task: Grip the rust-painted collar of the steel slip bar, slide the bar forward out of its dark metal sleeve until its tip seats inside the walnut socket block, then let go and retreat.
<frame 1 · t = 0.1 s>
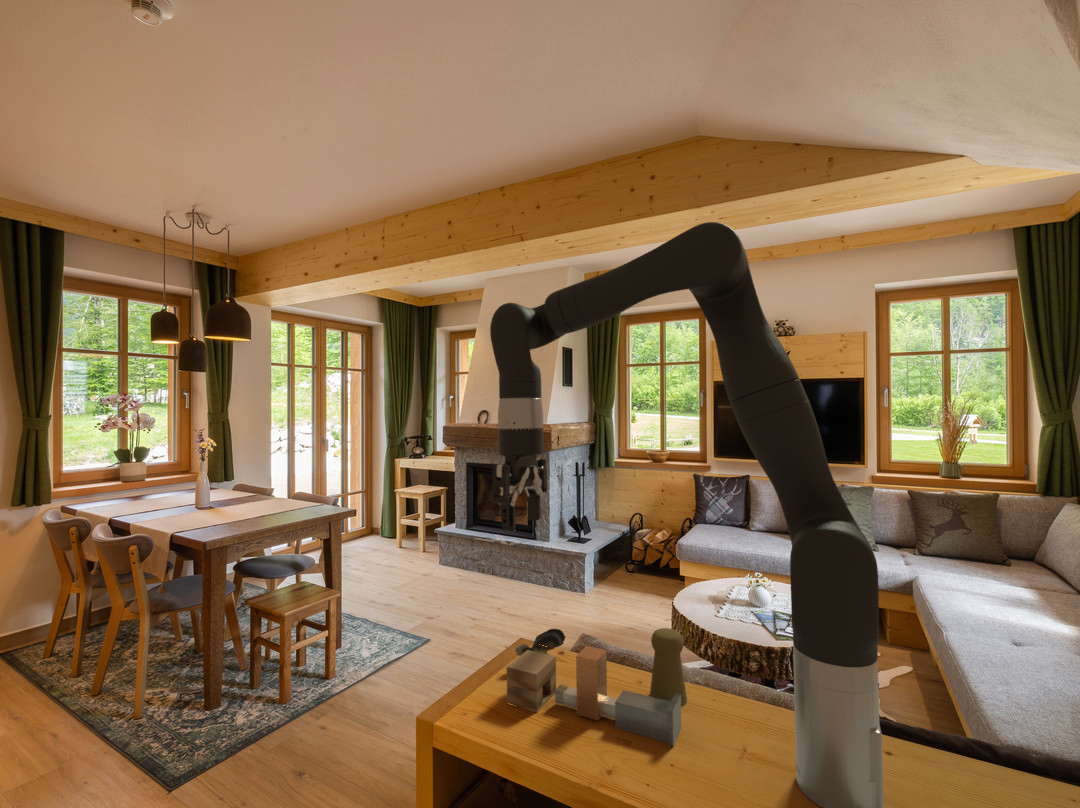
hand: (521, 524, 86), 29 cm above the table, tool pointing down, fingers open, 8 cm apart
socket block: (532, 697, 87), on the table
olive green pawn: (668, 699, 87), on the table
slip bar: (609, 686, 81), point 5 cm above the table, slide at 0.0 cm
sleeve: (645, 728, 79), on the table
eagle figurine: (541, 667, 99), on the table
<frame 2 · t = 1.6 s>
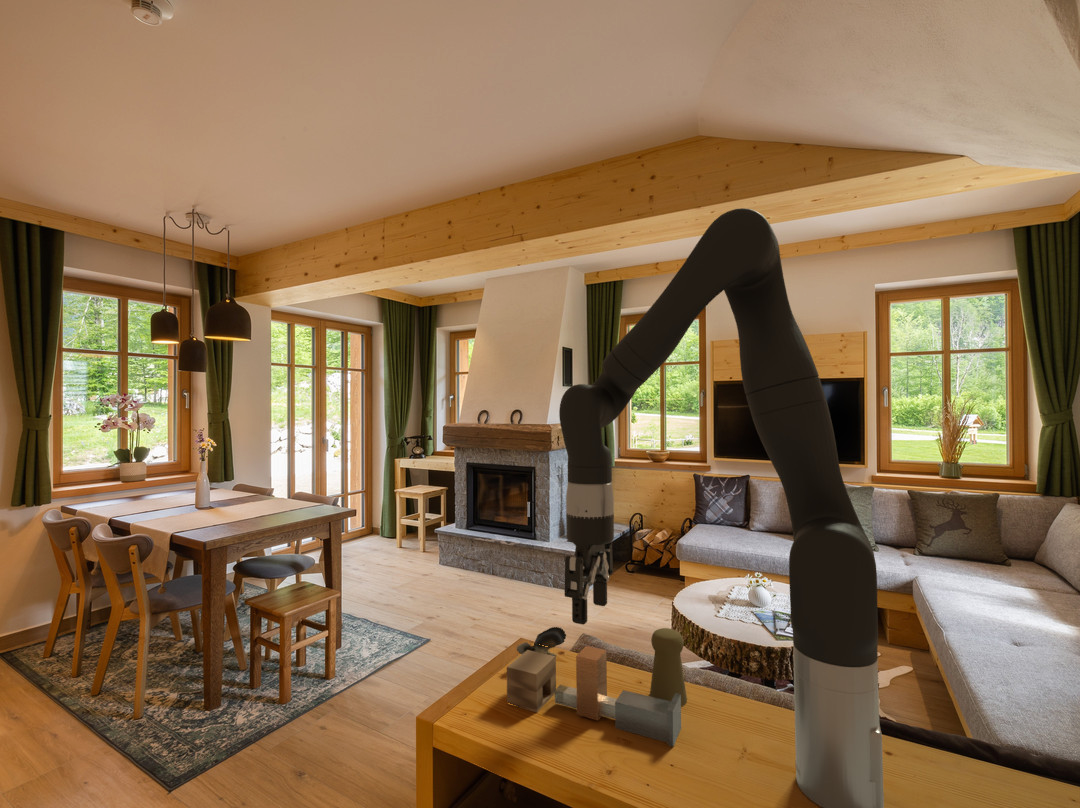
hand: (590, 613, 83), 16 cm above the table, tool pointing down, fingers open, 8 cm apart
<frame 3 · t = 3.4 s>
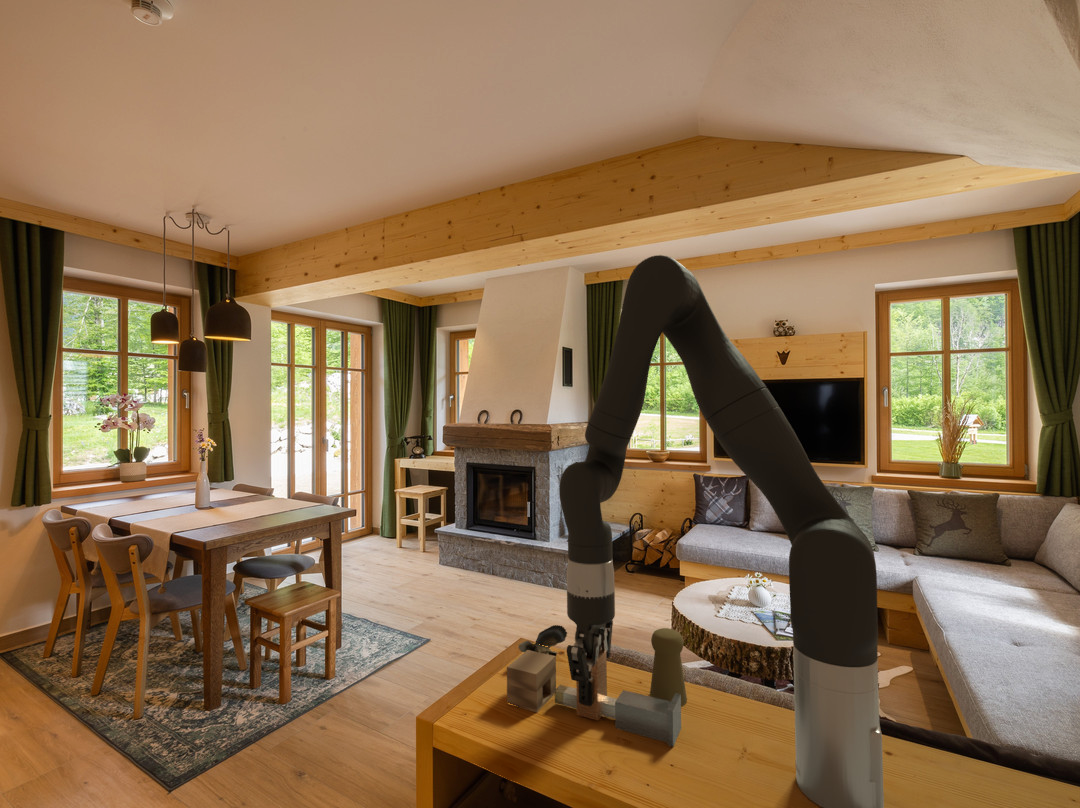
hand: (592, 696, 83), 3 cm above the table, tool pointing down, fingers closed on slip bar, 4 cm apart
slip bar: (609, 686, 81), point 5 cm above the table, slide at 0.0 cm, touching gripper
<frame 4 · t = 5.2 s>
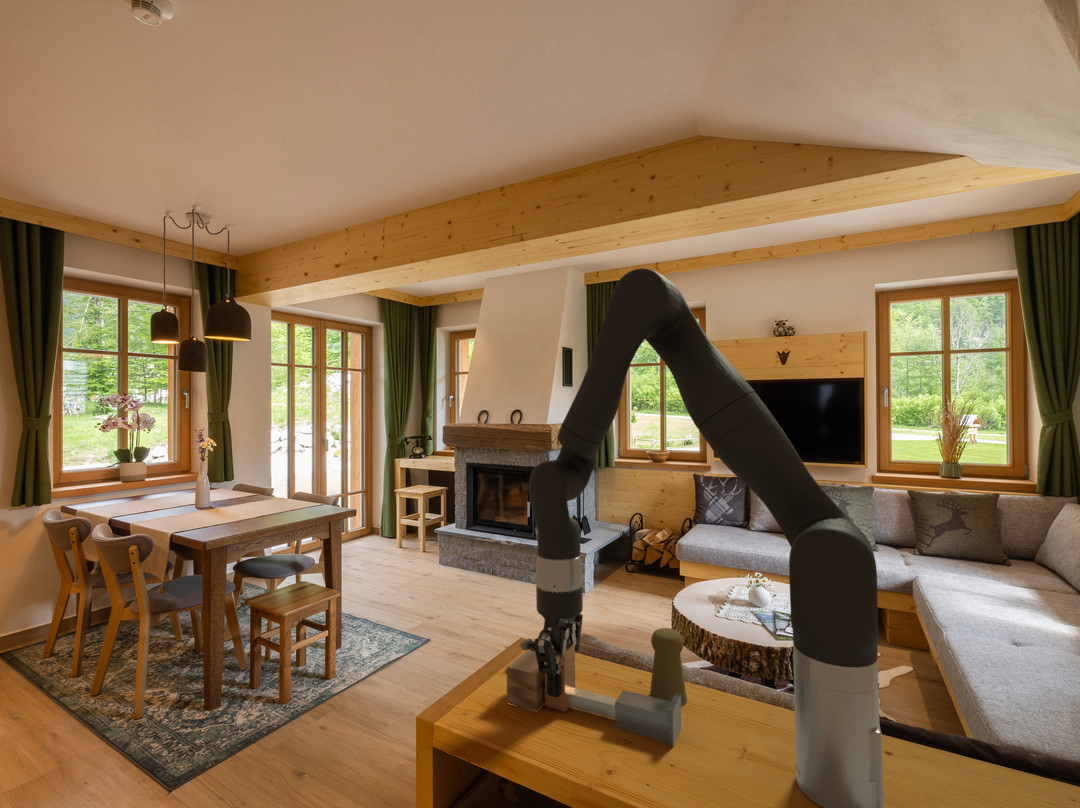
hand: (560, 688, 85), 3 cm above the table, tool pointing down, fingers closed on slip bar, 4 cm apart
slip bar: (577, 678, 84), point 5 cm above the table, slide at 5.5 cm, touching gripper
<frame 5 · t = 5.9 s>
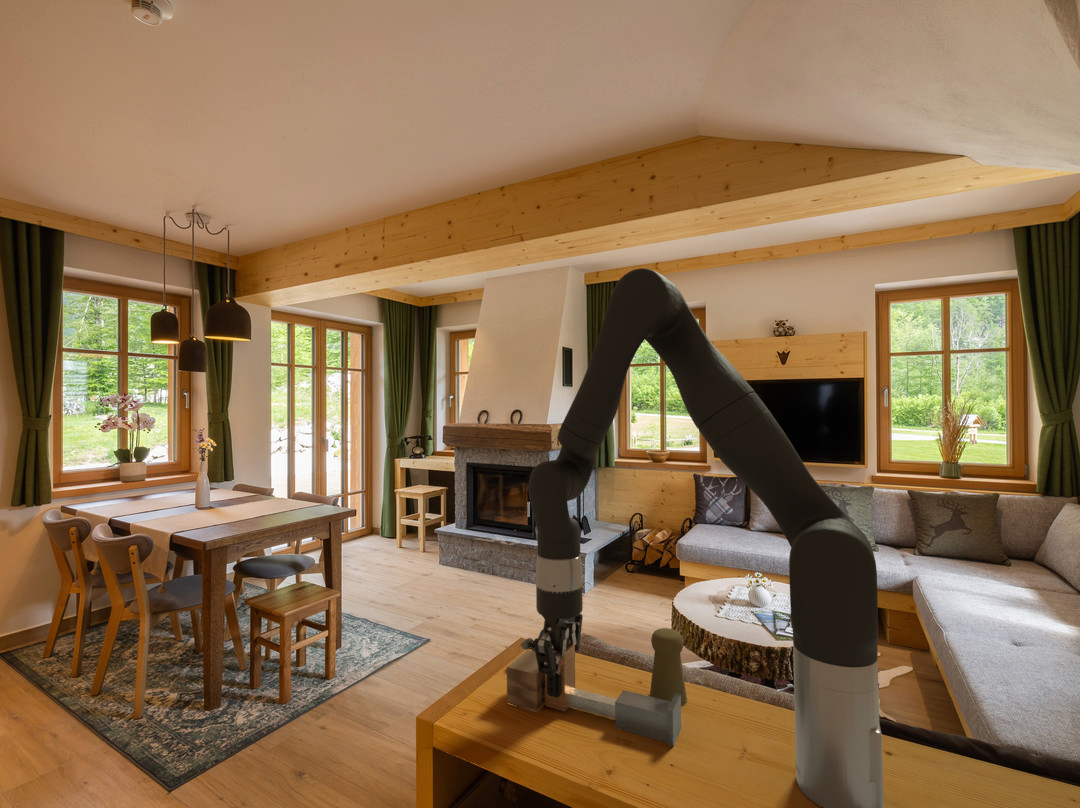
hand: (560, 688, 85), 3 cm above the table, tool pointing down, fingers closed on slip bar, 4 cm apart
slip bar: (577, 678, 84), point 5 cm above the table, slide at 5.5 cm, touching gripper
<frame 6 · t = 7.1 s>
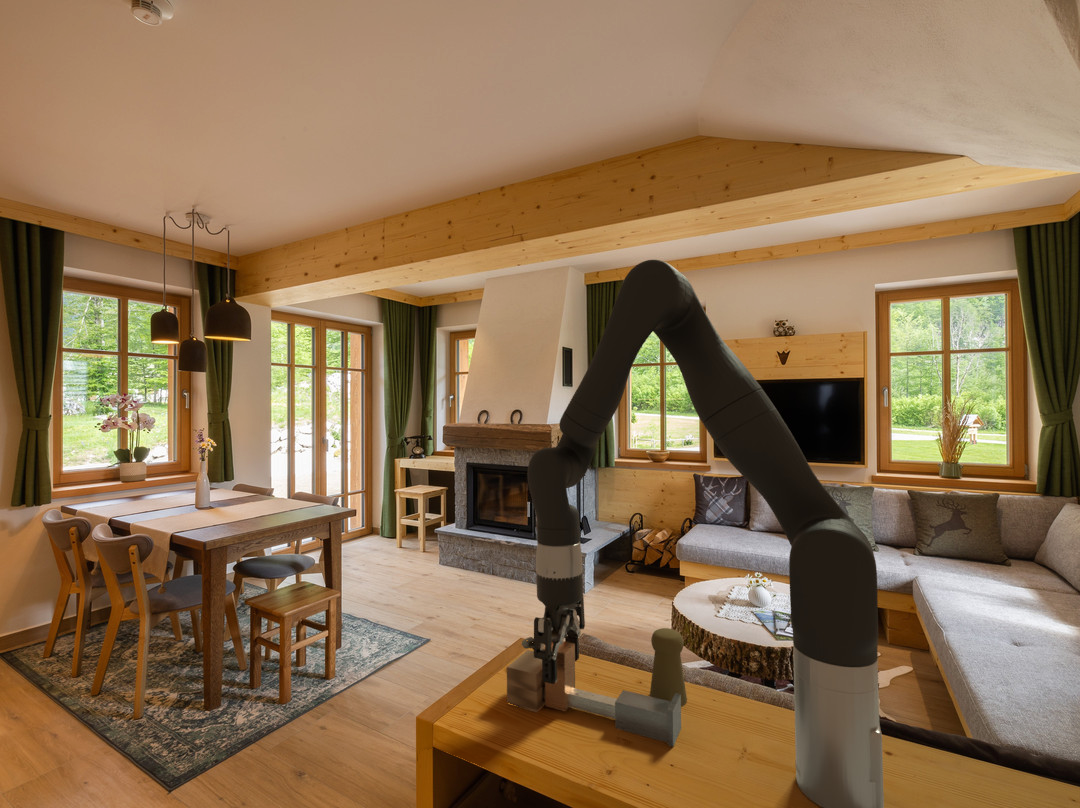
hand: (561, 670, 85), 6 cm above the table, tool pointing down, fingers open, 8 cm apart
slip bar: (577, 678, 84), point 5 cm above the table, slide at 5.5 cm
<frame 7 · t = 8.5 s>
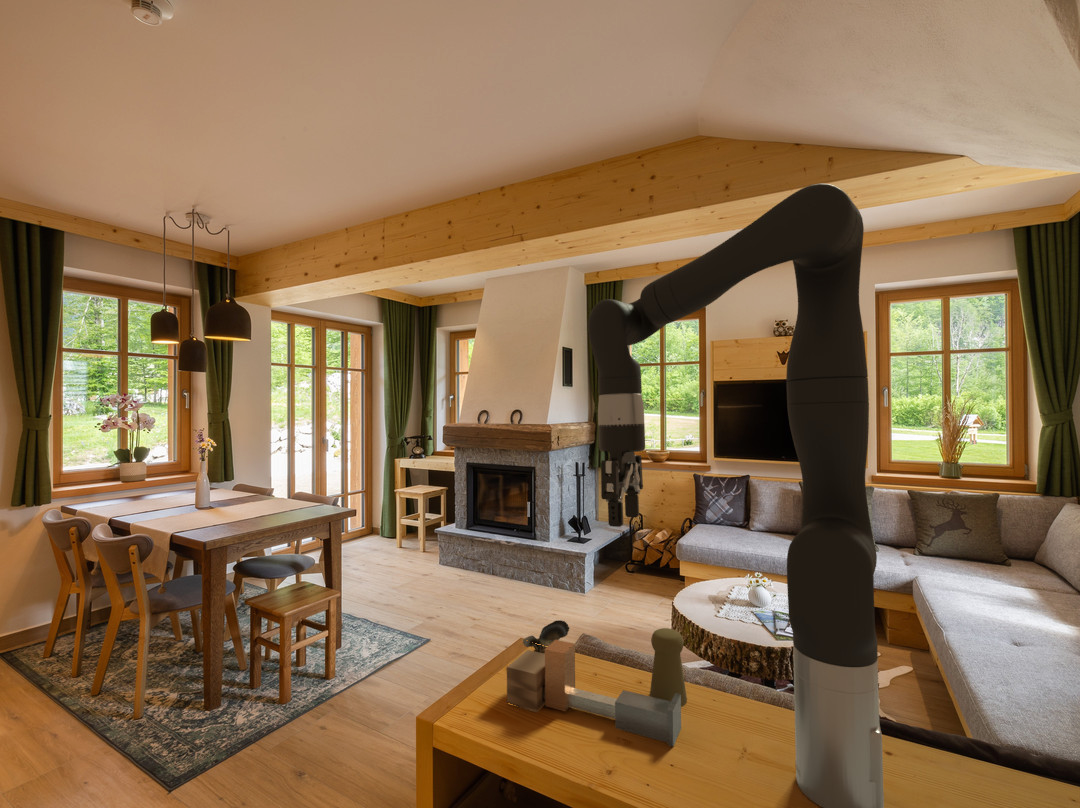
hand: (624, 521, 86), 30 cm above the table, tool pointing down, fingers open, 8 cm apart
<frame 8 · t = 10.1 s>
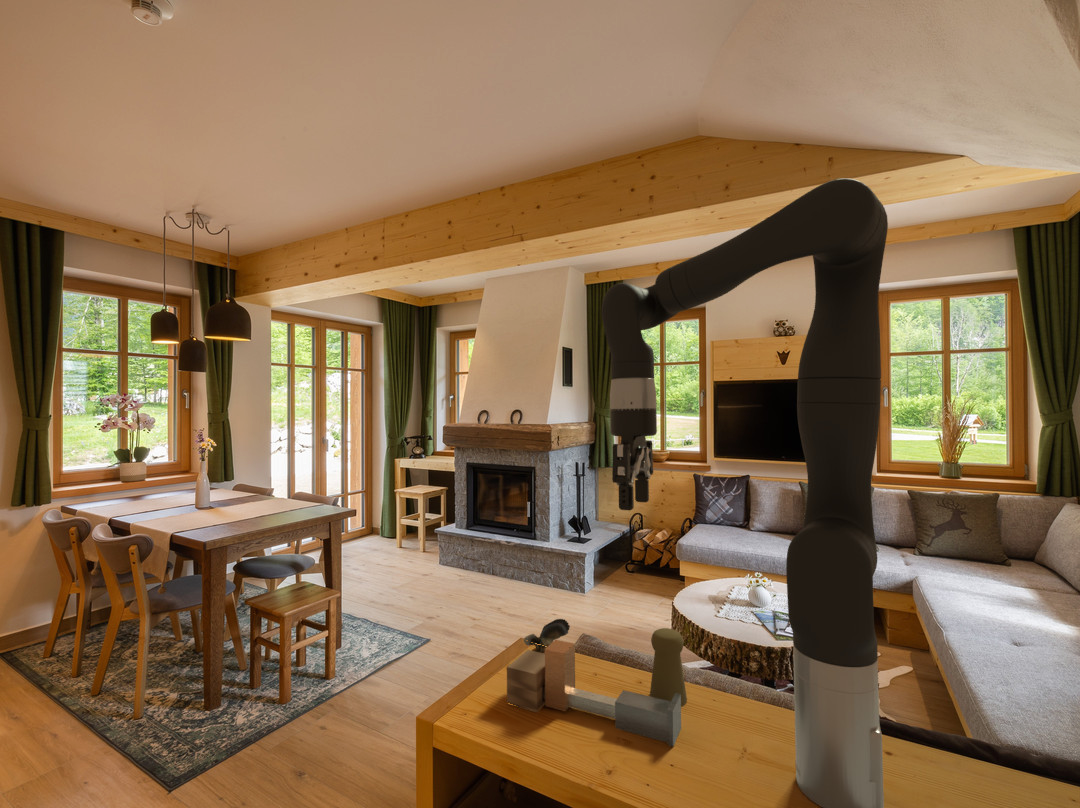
hand: (634, 505, 86), 32 cm above the table, tool pointing down, fingers open, 8 cm apart
at the end: slip bar slide at 5.5 cm; the gripper is holding nothing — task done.
